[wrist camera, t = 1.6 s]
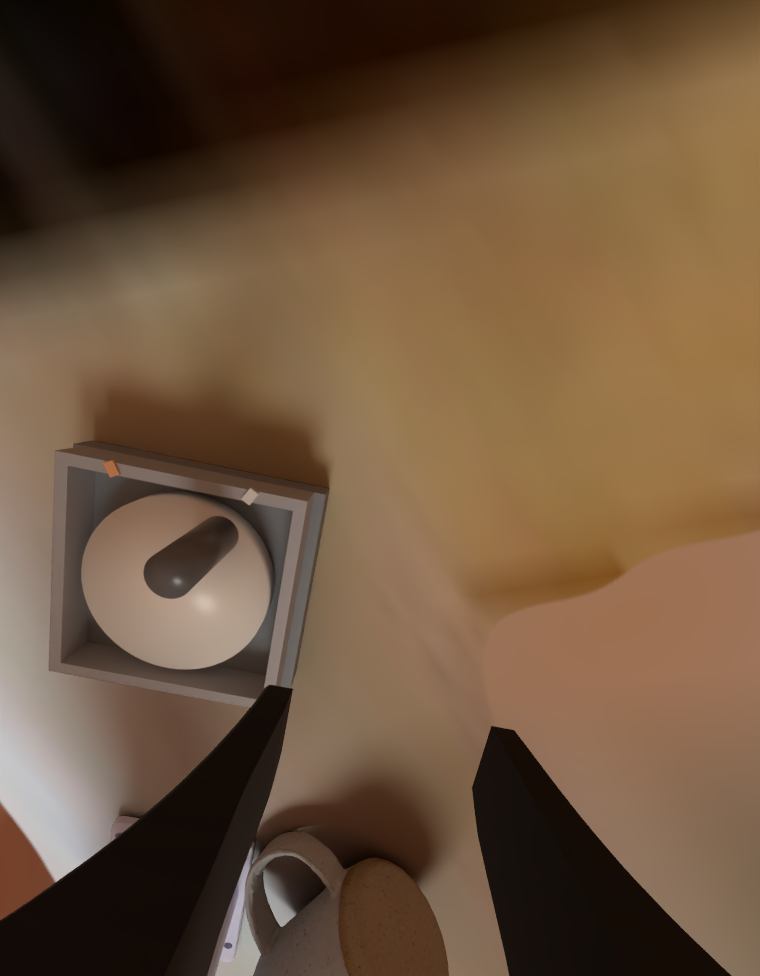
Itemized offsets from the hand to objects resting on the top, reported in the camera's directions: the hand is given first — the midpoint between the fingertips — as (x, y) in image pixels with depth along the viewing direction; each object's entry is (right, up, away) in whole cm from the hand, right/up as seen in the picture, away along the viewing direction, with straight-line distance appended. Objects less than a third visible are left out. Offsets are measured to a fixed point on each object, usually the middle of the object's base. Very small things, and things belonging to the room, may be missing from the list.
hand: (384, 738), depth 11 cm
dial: (-9, +3, +8) cm, 12 cm away
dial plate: (-9, +3, +9) cm, 13 cm away
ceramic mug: (-3, -17, +14) cm, 22 cm away
